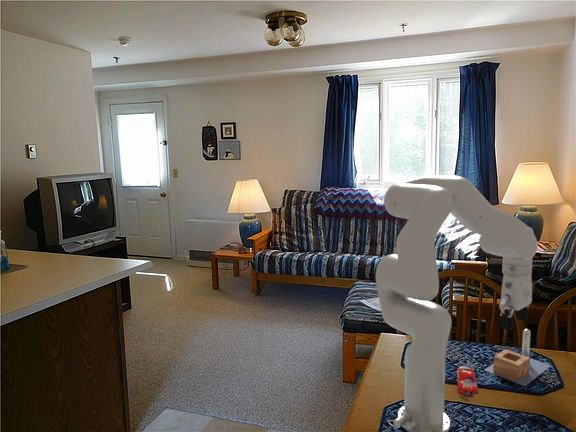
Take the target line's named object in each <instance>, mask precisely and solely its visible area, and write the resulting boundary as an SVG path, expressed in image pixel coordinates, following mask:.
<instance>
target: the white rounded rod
mask: <svg viewBox="0 0 576 432" xmlns="http://www.w3.org/2000/svg"><path fill="white" fill-rule="evenodd" d="M531 332H532V331H531V330H530V329H528V328H525V329H523V331H522V343H521V345H522V348H521V355H524V356H527V357H530V347H531V346H530V345H531Z"/></svg>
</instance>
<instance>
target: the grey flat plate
mask: <svg viewBox="0 0 576 432" xmlns="http://www.w3.org/2000/svg"><path fill="white" fill-rule="evenodd" d="M493 364H494V363H492V364H490V365H489V366H488V367H485V369H484V371H485V372H487V373H491V374H493V375H496V376H498V377H501V378H504V379H506V380H508V381H509V382H513V383H515V384H517V385H518V384H519V385H520V386H523V387H526V386H527V385H529V384H530V383H531V382H533V381H534V380H535V379H536V378H538V377H539V376H540V375H541V374H543V373H544V372H545V371H547V370H548V369H549V368H550V367H551V366H552V365H551V364H549V363H545V362H543V361H539V360H536V359H533V358H530V363H529V373H528V374H527V375H526V376H525V377H523V378H522V379H521V380H519V381H515V380H512V379H510V378H507V377H505V376H502V375H500V374H497V373H494V372H493Z"/></svg>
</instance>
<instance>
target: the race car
mask: <svg viewBox="0 0 576 432" xmlns="http://www.w3.org/2000/svg"><path fill="white" fill-rule="evenodd" d="M456 379H457V388H458V389H457V393H458V394H459V395H462V396H465V397H469V398H470V397H471V398H473V397H475V396H474V395H475V394H478V392H479V390H478V389H479V388H478V383H477V382H478V380H477V378H476V373H475V372H474V369H473V368H472V367H469V366H463V365H462V366H458V367H457V370H456Z"/></svg>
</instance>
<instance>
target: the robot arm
mask: <svg viewBox="0 0 576 432" xmlns="http://www.w3.org/2000/svg"><path fill="white" fill-rule="evenodd" d="M383 205H384V207H385V209H386V211H387V213H388V214H390V215H391V216H393V217H396V218H400V219H406V220H407V222H406V223H405V225H404V226H403V227H402V228H401V230H400V232H399V234H398V235H397V239H396V244H395V246H396V253H391V254H387V255H385V256H384V257H382V258H381V259H380V261H379V263H377V264H378V265H377V267H376V271H375V284H376V289H377V291H376V292H377V295H378V300H379V305H380V306H379V307H380V311H381V315H382V318H383V320H384V321H385V323H386V324H387V325H388V326H390V327H392V328H393V329H396V330H398V331H400V332H402V333H404V334H406V335H408V336H411V337H412V342H411V343H410V344H409V345H408V346H407V348H406V350H405V354H404V397H403V398H404V401H403V402H404V405H403V406H402V407H401V408H400V409H399V410H398V412H397V418H395V419H394V420H393V425H394V427H395V428H396V429H399V428H401V427H402V428H403V429H404V430H406V431H407V432H449V431H450V428H451V419H450V417H449V416H448V415H447V414H446V413H445V392H446V391H445V390H446V389H445V385H446V384H445V383H446V359H447V356H446V355H447V346H448V340H449V336H450V332H451V328H452V318H451V315H450V313H449V312H448V310H447V308H444V307H443V306H441V305H440V304H438V303H436V302H434V301H432V300H433V299H435V297H437V295H438V294H439V290H440V289H439V288H440V280H439V271H438V265H437V257H436V247H435V246H436V245H435V242H436V238H437V235H438V233H439V230H440V229H441V227H442V226H443V225H444V222H445V221H446V220H447V218H448V217H449V215H450V214H451V215H452V216H453V218H455V219H456V220H457V221H458V222H459V223H460V224H461V225H462V226H463V227H464V228H466V229H467V230H468V231H470V232H473V233H475V234H477V235H479V240H478V243H479V246H480V248H481V250H482V251H483V252H485V253H487V254H488V255H489V254H491V255H493V256H494V255H495V256H499V257H502V267H501V269H502V270H501V272H502V274H503V277H502V284H501V292H500V295H501V296H500V303H499V305H498V306H499V314H500V329H503V330H506V331H510V332H512V331H513V326H514V317H513V314H514V312H515V318H516V319H517V320H518V321H519V320H520V321H523V322H528V320H529V306H530V305H531V303H533V282H532V272H533V257H535V255H536V253H537V251H538V246H539V245H538V240H537V237H536V235H535V234H534V230H533V228H532V227H530V226H528V225H527V224H526V223H525V222H523V221H522V220H520V219H519V218H517V217H516V216H513V215H511V214H509V213H508V212H505V211H504V210H503V209H500V208H498V207H497V206H496V207H495V206H494V205H492V204H491V203H490V202H489V200H487V199H486V198H485V196H484V195H483V194H482V193H481V191H480V190H478V188H477V187H476V186H475V185H474V184H473V183H472V181H470V180H469V179H468V178H466V177H463V176H460V175H459V176H458V175H443V174H442V175H440V174H437V175H436V174H431V175H425V176H424V175H423V176H420V177H417V178H413V179H409V180H404V181H399V182H397V183H394V184H392V185H391V186H390V187H389V188H388V189H387V191H386V192H385V193H384V198H383ZM508 310H509V311H508Z"/></svg>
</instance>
